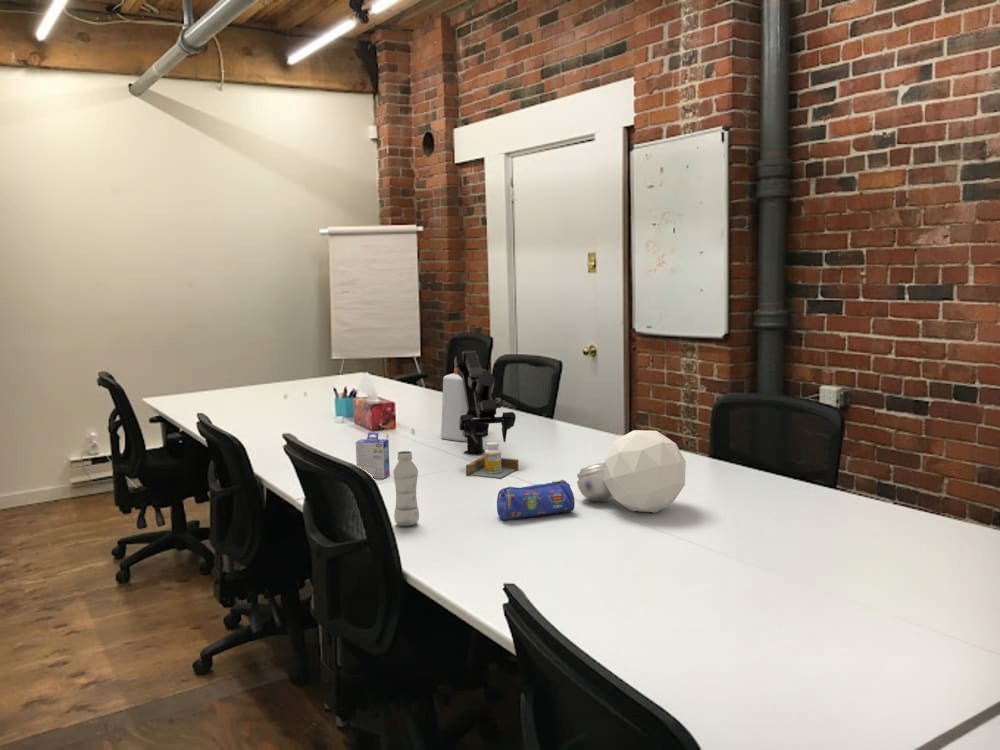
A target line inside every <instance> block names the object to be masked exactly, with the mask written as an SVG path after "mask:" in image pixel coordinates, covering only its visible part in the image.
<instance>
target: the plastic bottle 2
mask: <svg viewBox="0 0 1000 750" xmlns="http://www.w3.org/2000/svg"><path fill="white" fill-rule="evenodd" d="M442 379H443V380H442V402H441V403H442V405H441V426H440V427H441V428H440V429H441V430H440V431H441V432H440V436H441V438H442V439H443V440H446V441H447V440H448V441H454V442H463V443H465V442H466V443H467V437H466V438H465V437H464V436H463V433H462V430H460V429H459V420H460V416H461V415H466V414H467V405H466V399H465V392H464V386H463V380H462V378H461V377H460V376H459V375H458V374H457V370H456V368H455V367H454V369H453V373H449V374H447V375H445V376H443V378H442ZM483 438H485V436H483Z"/></svg>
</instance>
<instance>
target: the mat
mask: <svg viewBox="0 0 1000 750" xmlns="http://www.w3.org/2000/svg"><path fill="white" fill-rule="evenodd" d="M514 472H516V471H515V469H507V468H501V472H499V473H486V472H485V467H484V468H482V469H480V470H478V471H476V472H474V473H472V474H471V476H470V477H480V478H486V479H487V478H490V479H499V480H503V479H504V478H506V477H507V476H509V475H511V474H512V473H514Z"/></svg>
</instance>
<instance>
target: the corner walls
mask: <svg viewBox="0 0 1000 750" xmlns="http://www.w3.org/2000/svg"><path fill="white" fill-rule="evenodd" d="M484 467H485V455H484V456H482V457H480V458H477V459H476V460H475V459H474V461H472V462H470V463H468V464H466V465H465V476H467V477H472V476H471V474H472V473H474V472H476V471H478V470H480V469H482V468H484ZM501 468H507V469H515V471H514V472H517V471H519V468H520V467H519V459H513V458H503V457H501Z"/></svg>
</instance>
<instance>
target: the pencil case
mask: <svg viewBox="0 0 1000 750" xmlns="http://www.w3.org/2000/svg"><path fill="white" fill-rule="evenodd" d="M575 502H576V501H575V495H574V492H573V490H572V488H571V485H570V484H569V483H568V482H567V481H566V480H564V479H563V478H562V479H560V480H553V481H551V482H546V483H539V484H538V483H537V484H533V485H527V486H523V487H514V486H506V487H504V488H501V489H499V491H498V494H497V498H496V511H497V516H498V517H499V519H501V520H514V519H518V518H531V517H532V518H533V517H538V516H546V515H553V514H559V513H563V512H564V513H572V512H573V511H574V510H575V507H576V506H575V505H576V503H575Z"/></svg>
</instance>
